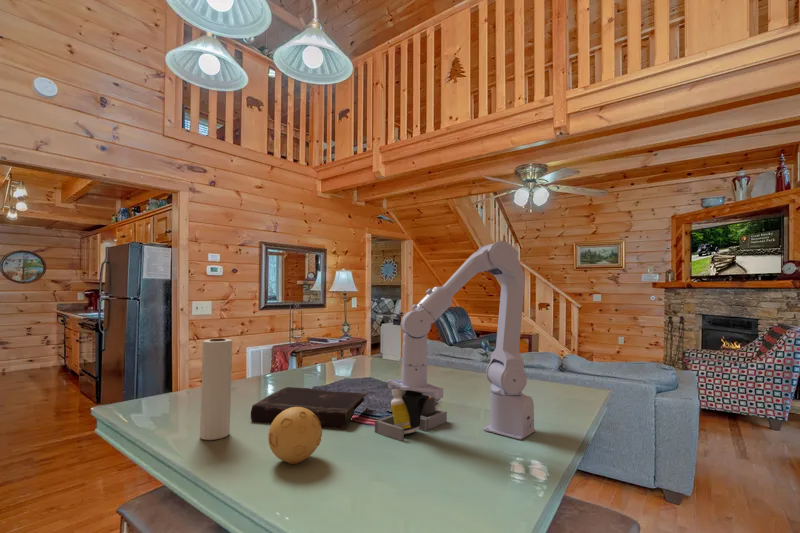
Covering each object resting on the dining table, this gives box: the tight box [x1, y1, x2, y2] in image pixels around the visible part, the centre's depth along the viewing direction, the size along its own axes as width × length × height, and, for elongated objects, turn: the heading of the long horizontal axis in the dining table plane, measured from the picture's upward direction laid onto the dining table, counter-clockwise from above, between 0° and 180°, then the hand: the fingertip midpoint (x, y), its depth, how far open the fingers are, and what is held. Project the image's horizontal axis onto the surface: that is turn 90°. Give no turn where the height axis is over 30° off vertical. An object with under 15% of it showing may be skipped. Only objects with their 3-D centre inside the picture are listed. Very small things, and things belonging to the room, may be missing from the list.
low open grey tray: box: [374, 396, 448, 442], centre depth 99 cm, size 17×17×6 cm
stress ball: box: [267, 407, 323, 465], centre depth 76 cm, size 10×10×10 cm
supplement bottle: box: [390, 388, 420, 435], centre depth 92 cm, size 5×5×10 cm
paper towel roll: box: [199, 338, 233, 441], centre depth 90 cm, size 7×6×21 cm
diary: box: [250, 386, 369, 430], centre depth 105 cm, size 19×25×5 cm
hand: (414, 425), depth 89 cm, fingers closed, pressing on supplement bottle
